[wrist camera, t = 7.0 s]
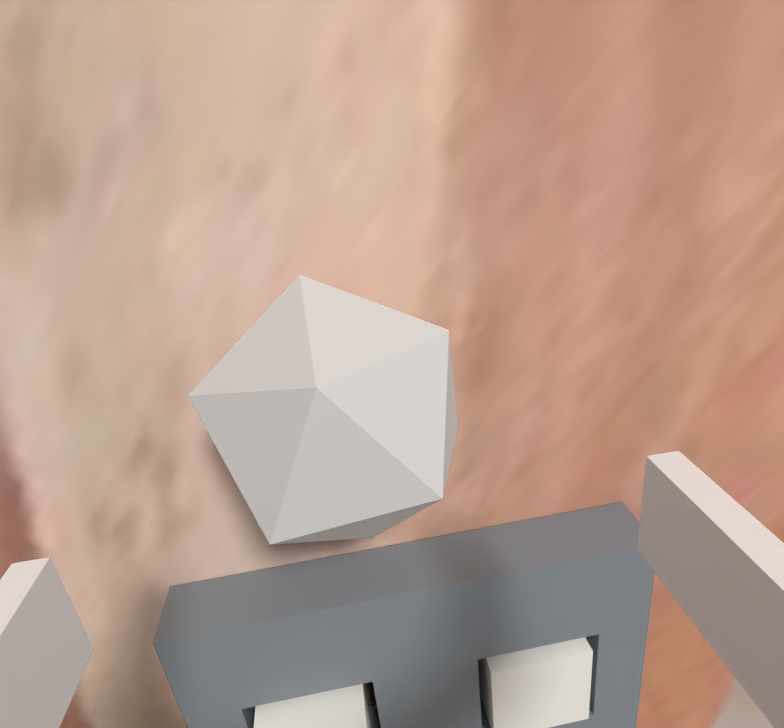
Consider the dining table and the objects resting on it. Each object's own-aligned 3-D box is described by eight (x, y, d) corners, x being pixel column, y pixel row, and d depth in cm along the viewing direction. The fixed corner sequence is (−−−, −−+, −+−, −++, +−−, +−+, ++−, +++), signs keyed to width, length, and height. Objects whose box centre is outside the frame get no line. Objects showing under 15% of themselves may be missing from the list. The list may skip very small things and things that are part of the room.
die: (251, 470, 24) (403, 630, 18) (96, 381, 17) (263, 596, 11) (370, 333, 25) (545, 442, 20) (272, 198, 18) (498, 308, 13)
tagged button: (476, 681, 30) (494, 739, 27) (471, 616, 28) (491, 672, 25) (561, 662, 30) (588, 718, 27) (563, 598, 28) (592, 651, 25)
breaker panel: (245, 790, 31) (239, 858, 28) (170, 586, 25) (151, 647, 22) (604, 710, 33) (633, 766, 30) (621, 502, 27) (660, 547, 24)
